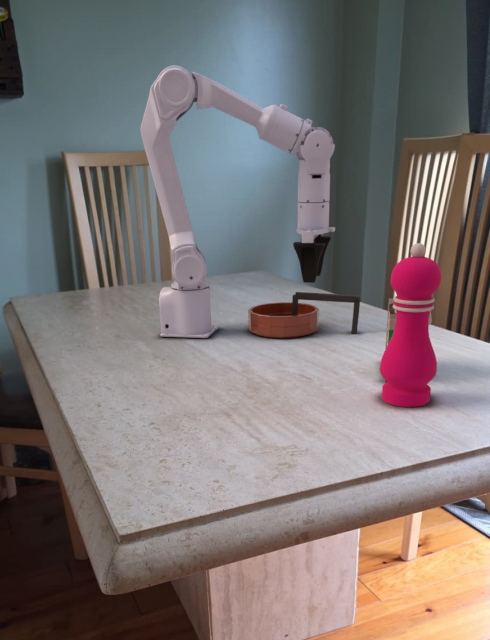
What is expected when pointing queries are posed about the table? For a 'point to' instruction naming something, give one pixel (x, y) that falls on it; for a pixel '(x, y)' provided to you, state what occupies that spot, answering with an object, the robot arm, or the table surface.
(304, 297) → the dark grey bent bar
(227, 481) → the table surface
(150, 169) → the robot arm
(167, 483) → the table surface
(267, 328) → the bowl
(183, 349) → the table surface
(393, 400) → the pepper mill
